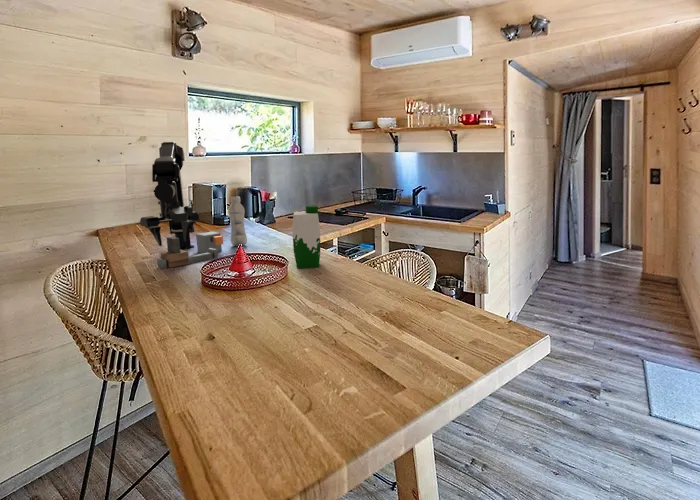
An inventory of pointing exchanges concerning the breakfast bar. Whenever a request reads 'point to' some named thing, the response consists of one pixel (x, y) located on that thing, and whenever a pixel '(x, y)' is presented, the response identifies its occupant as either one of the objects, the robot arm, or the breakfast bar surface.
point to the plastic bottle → (237, 222)
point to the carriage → (175, 253)
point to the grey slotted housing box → (207, 242)
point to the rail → (191, 258)
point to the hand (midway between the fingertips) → (173, 243)
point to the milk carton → (306, 238)
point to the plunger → (217, 240)
